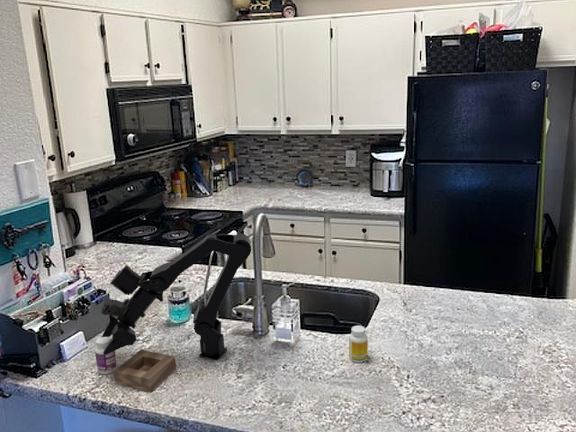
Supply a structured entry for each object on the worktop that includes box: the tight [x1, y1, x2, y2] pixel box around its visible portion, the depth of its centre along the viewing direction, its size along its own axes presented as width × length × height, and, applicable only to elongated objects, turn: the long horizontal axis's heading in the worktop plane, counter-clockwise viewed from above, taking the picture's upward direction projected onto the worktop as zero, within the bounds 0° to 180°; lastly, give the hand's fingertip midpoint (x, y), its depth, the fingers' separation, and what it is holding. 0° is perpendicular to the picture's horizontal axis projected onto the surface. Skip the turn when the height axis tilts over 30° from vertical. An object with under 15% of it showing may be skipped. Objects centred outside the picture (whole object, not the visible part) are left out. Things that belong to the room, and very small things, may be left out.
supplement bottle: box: [348, 325, 369, 363], centre depth 152 cm, size 5×5×10 cm
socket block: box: [112, 349, 177, 393], centre depth 148 cm, size 12×12×4 cm
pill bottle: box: [94, 336, 118, 375], centre depth 151 cm, size 5×5×10 cm
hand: (103, 346), depth 150 cm, fingers open, 9 cm apart
